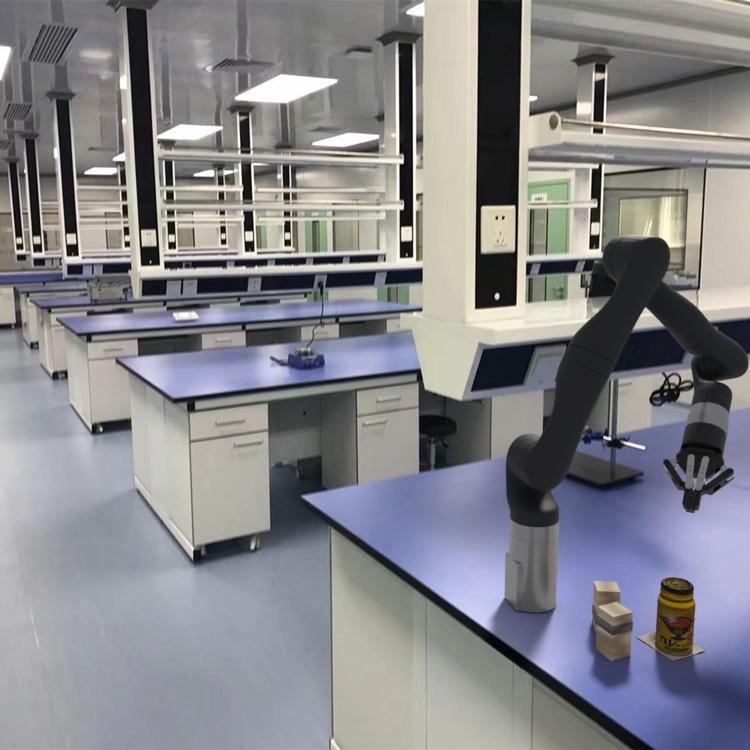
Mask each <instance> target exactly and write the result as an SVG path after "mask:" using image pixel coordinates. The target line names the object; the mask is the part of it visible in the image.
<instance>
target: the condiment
mask: <svg viewBox="0 0 750 750" xmlns="http://www.w3.org/2000/svg"><path fill="white" fill-rule="evenodd" d="M694 591H695V587H694V584H693V583H691V582H690V581H689V580H687V579H685V578H682V577H675V576H672V577H671V576H670V577H665V578H662V580H661V581H660V588H659V593H658V595H657V600H656V601H657V605H656V606H657V607H656V622H655V631H653V632H650V633H646V634H643V635H639V636H637V637H636V638H637V639H639V640H641V641H642V642H644V643H645V644H647V645H648V646H650V647H651V648H652V649H654V650H655V651H657V652H658V653H659V654H662V656H664V657H666V658H667V659H669V660H671V661H673V662H674V661H678V660H680V659H685V658H688V657H690V656H691V657H692V656H695V655H697V654H699V653H701V652H705V649H703V648H701V647H700V646H698V645H696V644H695V643H694V636H695V635H694V634H695V633H694V632H695V630H694V629H695V618H696V617H695V616H696V601H695V599H694V596H695V593H694Z"/></svg>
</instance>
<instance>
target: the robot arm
mask: <svg viewBox="0 0 750 750" xmlns="http://www.w3.org/2000/svg"><path fill="white" fill-rule="evenodd" d="M601 259H602V260H601V261H602V262H601V263H602V266H603V269H604V271H605V273H606V274H607V276H608V277H609V278H610V279H611V280H613V281H614V282H615V283H616V286H615V288H614V290H613V293H612V294H611V296H610V298H609V299H608V300H607V302H605V304H604V305H602V306H603V307H601V308H600V309H599V310H598V311H597V312H596V313H595V314H594V315H592V316H591V317H590V319H588V320H587V321H586V322H585V323H584V324H583V325H582V326H581V327H580V328H579V329H578V330H577V331H576V332H575V334H574V335H573V337H572V338H571V340H570V342H569V344H568V346H567V348H566V349H565V351H564V354H563V356H562V358H561V360H560V363H559V365H558V368H557V372H556V378H555V387H554V400H553V401H554V402H553V407H552V409H551V413H550V416H549V419H548V421H547V424H546V425H545V428H544V429H543V431H542V433H541V435H538V434H535V433H534V434H533V433H524V434H521V435H519V436H517V437H516V438H515V439H514V440H513V441H512V442H511V444H510V445H509V447H508V450H507V453H506V458H505V489H506V490H505V495H506V501H507V504H508V508H509V546H508V547H509V550H508V551H506V552H505V555H504V557H505V559H504V560H505V561H504V598H505V600H506V601H507V602H508V603H509V604H510V605H511V607H512V608H513V609H514V610H515V612H526V613H545V612H546V613H547V612H549V611H552V610H553V609H555V607H556V606H557V596H558V591H557V590H558V588H557V587H558V560H559V557H558V556H559V535H560V531H559V528H560V507H559V505H558V502H557V501H556V499H555V497H554V495H553V493H552V490H554V489H555V488H557V487H558V486H560V484H561V483H562V482H563V481H564V480H565V478H566V476H567V475H568V472H569V470H570V467H571V466H572V462H573V459H574V458H575V454H576V452H577V449H578V446H579V443H580V441H581V438H582V436H583V432H584V430H585V428H586V426H587V424H588V421H589V419H590V418H591V415H592V413H593V411H594V409H595V407H596V404H597V403H598V400H599V398H600V396H601V394H602V392H603V390H604V388H605V386H606V385H607V383H608V381H609V379H610V376H611V374H612V373H613V371H614V369H615V366H616V365H617V362H618V361H619V358H620V355H621V353H622V352H623V349H624V347H625V346H626V343H627V342H628V340H629V338H630V335H631V334H632V332H633V330H634V328H635V326H636V324H637V322H639V318H640V317H641V315H642V313H643V311H644V310H645V309H647V310H648V311H649V312H650V313H651V314H652V315H653V316H654V317H655V318H656V319H657V321H659V322H660V324H661V325H662V326H663V328H665V329H666V330H667V331H668V333H670V335H671V336H672V338H674V340H675V341H676V343H677V344H679V346H680V347H681V348H682V349H683V351H685V352H686V353H687V354H690V355H692V356H693V357H692V358H691V362H690V370H691V374H692V376H691V377H692V385H693V396H692V400H691V404H690V410H689V412H688V415H687V417H686V422H685V426H684V429H683V430H684V431H683V436H682V439H681V440H682V441H681V443H680V449H679V451H678V452H676V454H675V457H674V458H671V459H668V458H664V459H663V460H662V464H663V467H664V470H665V472H666V473H667V475H668V476H669V478H670V480H671V481H672V483H673V485H674V486H675V488H676V490H678V491H682V492H683V496H682V497H683V498H682V501H681V502H682V508H683V509H684V510H685V512H686V513H691V514H695V512H697V511H699V510H700V507H701V501H702V497H703V496H704V495H708V496H713V495H714V494H715V493H717V492H718V491H720V490H721V489H722V488H724V487H725V486H727V485H729V483H730V482H732V481H733V480H734V479H735V471H734V469H733V468H732V467H728V466H727V465H725V460H724V453H725V449H726V448H725V447H726V442H727V437H728V434H729V424H730V423H729V422H730V421H729V420H730V418H729V417H730V411H731V407H732V401H733V392H732V389H731V387H729V385H728V384H726V383H724V382H723V381H727V380H734V379H738V378H741V377H743V376H744V375H745V374H746V373H747V371H748V369H749V365H750V364H749V363H750V362H749V357H748V355H747V353H746V350H745V349H744V348H743V347H742V346H741V345H740V344H739V343H738V342H737V341H736V340H734V339H733V338H731V337H730V336H728V335H726V334H725V333H723V332H722V331H720V330H718V329H717V328H715V327H714V326H713V324H712V323H711V322H710V320H709V319H708V318H707V317H706V316H705V314H703V312H702V311H701V310H700V309H699V308H698V306H696V305H695V304H694V303H693V302H691V301H690V300H689V299H688V298H687V297H685V296H684V295H682V294H681V293H680V292H678V291H677V290H675V289H674V288H672V287H671V286H670V285H669V284H668V283H667V282H665V281H664V278H665V276H666V274H667V272H668V269H669V266H670V262H671V249H670V247H669V244H668V243H667V241H666V240H665V239H663V237H659V236H656V235H651V234H650V235H649V234H646V235H645V234H623V235H618V236H616V237H613V238H612V239H611V240H610V241H608V243H606V245H605V247H604V248H603V252H602V258H601ZM678 466H679V468H680V470H681V471H682V472H683V474H684V475H685V481H684V480H683V479H682V477H681V476H680V474H679V473H678V472H677V470H678ZM716 474H718V475H717V476H716ZM714 476H716V477H714ZM713 477H714V478H713ZM711 478H713V479H712V480H710V481H709V482H708V480H709V479H711ZM695 481H696V482H695Z"/></svg>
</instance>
